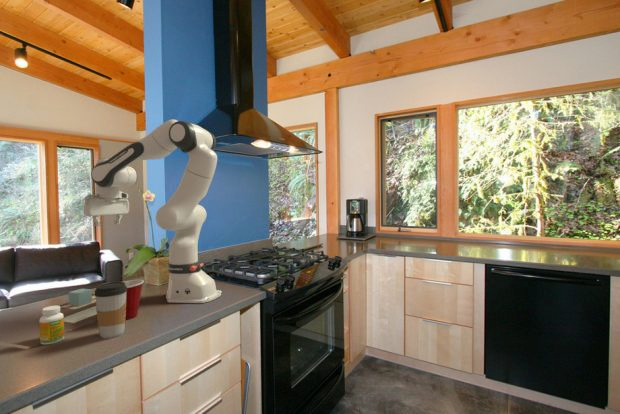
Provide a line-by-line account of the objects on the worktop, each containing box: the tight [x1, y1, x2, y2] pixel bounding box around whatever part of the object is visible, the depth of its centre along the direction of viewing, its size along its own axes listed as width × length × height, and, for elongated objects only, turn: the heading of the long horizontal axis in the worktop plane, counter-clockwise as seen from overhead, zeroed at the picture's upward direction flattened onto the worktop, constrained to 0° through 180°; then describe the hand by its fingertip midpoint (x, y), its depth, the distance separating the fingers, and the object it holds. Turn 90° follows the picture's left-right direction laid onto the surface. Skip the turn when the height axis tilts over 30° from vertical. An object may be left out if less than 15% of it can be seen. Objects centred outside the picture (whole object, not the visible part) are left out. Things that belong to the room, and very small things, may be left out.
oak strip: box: [60, 282, 106, 310], centre depth 123 cm, size 8×20×5 cm, turn 164°
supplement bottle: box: [38, 305, 65, 346], centre depth 89 cm, size 5×5×10 cm
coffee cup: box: [93, 281, 127, 339], centre depth 93 cm, size 8×8×15 cm
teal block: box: [68, 288, 92, 306], centre depth 118 cm, size 5×5×5 cm
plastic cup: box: [123, 279, 145, 321], centre depth 106 cm, size 11×11×12 cm
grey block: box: [64, 305, 97, 324], centre depth 111 cm, size 8×20×5 cm, turn 164°
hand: (108, 225), depth 139 cm, fingers open, 8 cm apart
